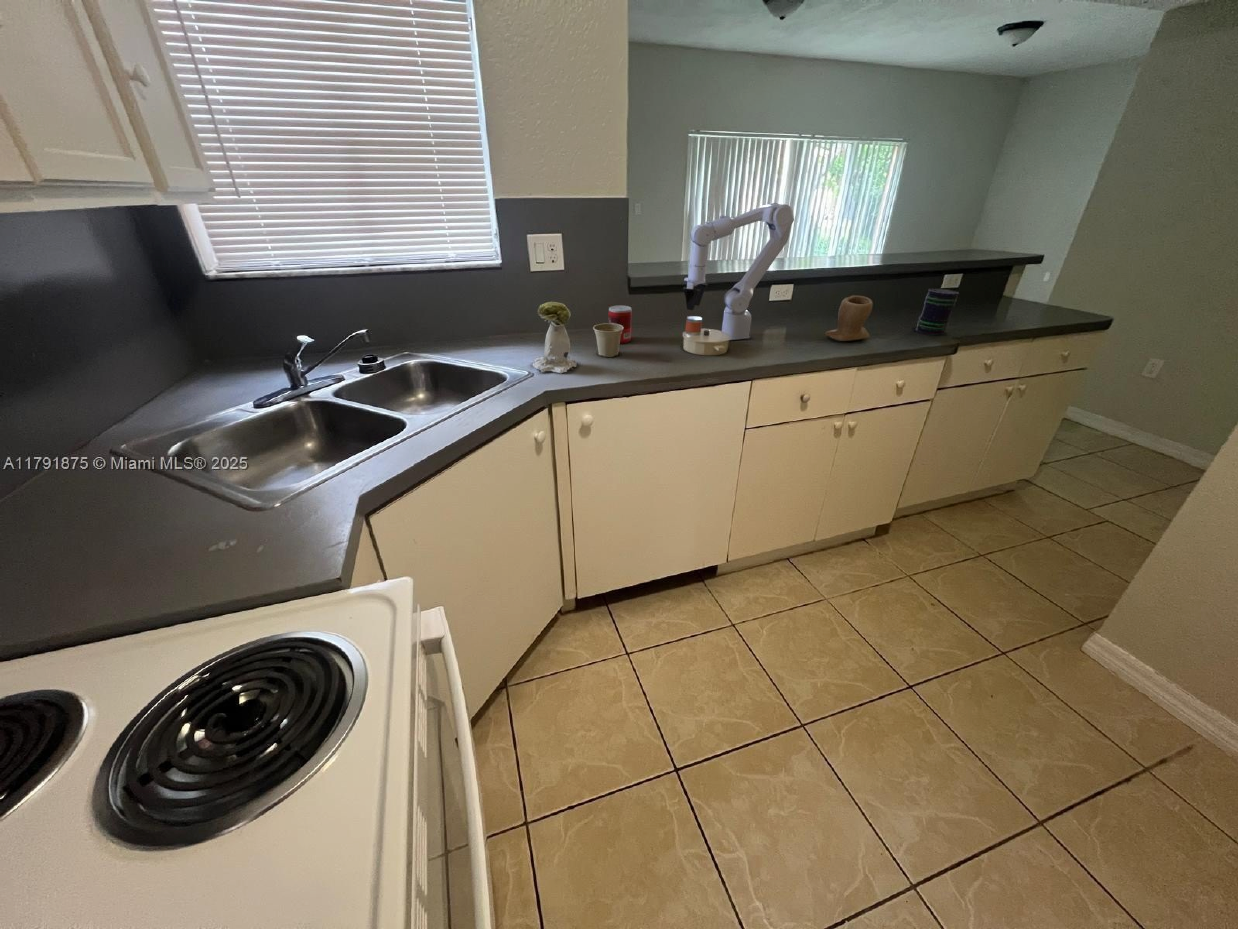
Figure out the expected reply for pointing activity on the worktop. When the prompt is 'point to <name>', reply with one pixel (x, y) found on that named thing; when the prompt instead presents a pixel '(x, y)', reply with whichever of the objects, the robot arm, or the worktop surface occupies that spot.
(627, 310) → the canned food
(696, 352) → the pot
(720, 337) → the pot lid
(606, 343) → the flower pot
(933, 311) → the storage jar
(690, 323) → the tin can
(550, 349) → the mossy mushroom figurine
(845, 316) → the brown clay vase
